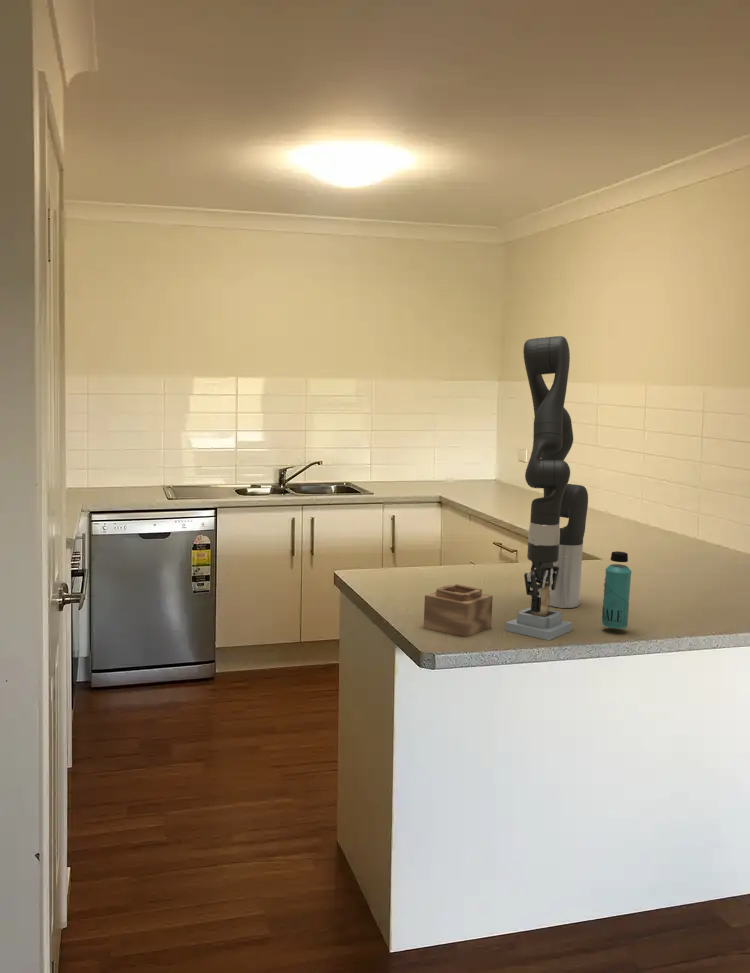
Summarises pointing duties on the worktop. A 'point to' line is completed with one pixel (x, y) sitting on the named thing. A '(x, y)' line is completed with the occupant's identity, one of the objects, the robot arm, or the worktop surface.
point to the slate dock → (539, 624)
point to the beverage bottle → (616, 592)
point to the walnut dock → (458, 610)
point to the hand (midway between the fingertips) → (539, 609)
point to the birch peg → (543, 603)
